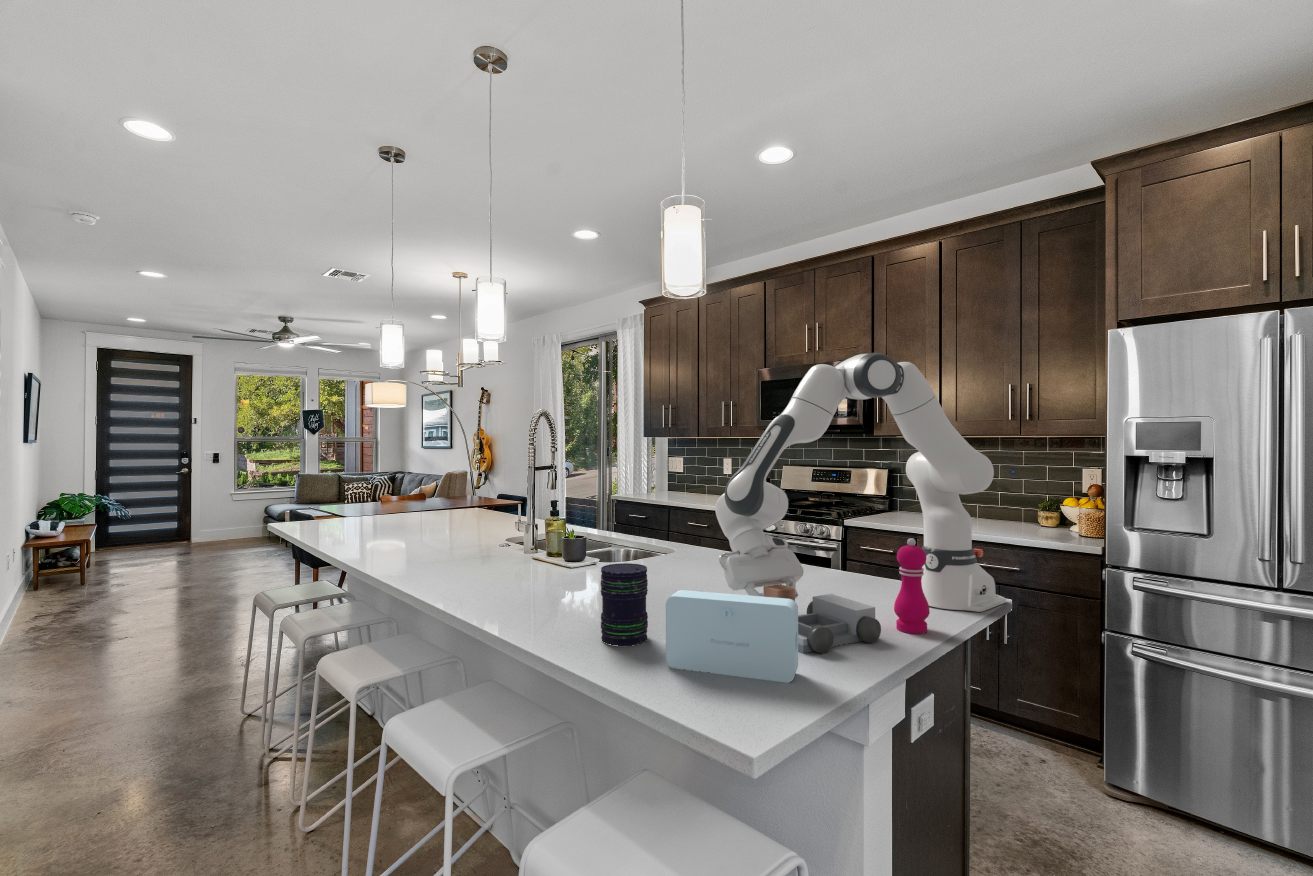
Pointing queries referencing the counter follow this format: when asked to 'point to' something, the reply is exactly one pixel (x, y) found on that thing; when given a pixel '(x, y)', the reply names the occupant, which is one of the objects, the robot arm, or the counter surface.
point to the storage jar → (624, 604)
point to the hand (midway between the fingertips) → (778, 599)
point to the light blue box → (732, 635)
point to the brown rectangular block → (779, 591)
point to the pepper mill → (911, 590)
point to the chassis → (836, 624)
